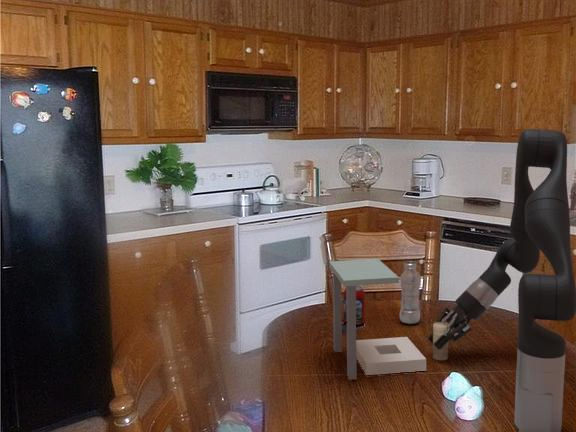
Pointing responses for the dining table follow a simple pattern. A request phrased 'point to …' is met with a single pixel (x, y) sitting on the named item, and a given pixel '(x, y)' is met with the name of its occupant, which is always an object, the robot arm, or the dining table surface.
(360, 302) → the beverage can
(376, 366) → the socket
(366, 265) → the two-legged shelf table
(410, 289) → the plastic bottle
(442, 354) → the peg
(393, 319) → the dining table surface
